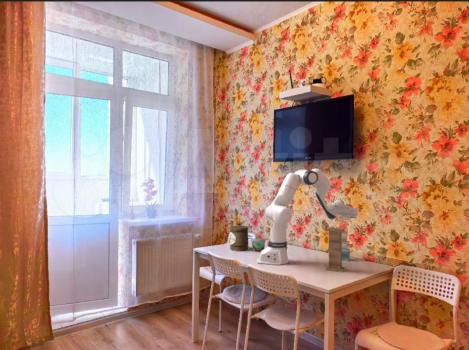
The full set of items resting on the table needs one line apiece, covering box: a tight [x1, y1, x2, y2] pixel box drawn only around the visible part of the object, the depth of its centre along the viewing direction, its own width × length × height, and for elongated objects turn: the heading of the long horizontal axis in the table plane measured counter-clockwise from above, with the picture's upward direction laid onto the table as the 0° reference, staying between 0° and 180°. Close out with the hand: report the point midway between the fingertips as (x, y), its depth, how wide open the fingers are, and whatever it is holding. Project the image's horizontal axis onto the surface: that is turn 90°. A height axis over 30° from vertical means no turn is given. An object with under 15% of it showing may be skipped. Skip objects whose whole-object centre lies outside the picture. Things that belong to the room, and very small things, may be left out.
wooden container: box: [229, 221, 249, 252], centre depth 269 cm, size 15×15×22 cm
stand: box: [325, 226, 346, 273], centre depth 209 cm, size 7×10×26 cm
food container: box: [250, 238, 267, 253], centre depth 261 cm, size 12×6×10 cm, turn 105°
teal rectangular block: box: [342, 230, 351, 262], centre depth 235 cm, size 20×7×7 cm
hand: (341, 206), depth 228 cm, fingers open, 8 cm apart
